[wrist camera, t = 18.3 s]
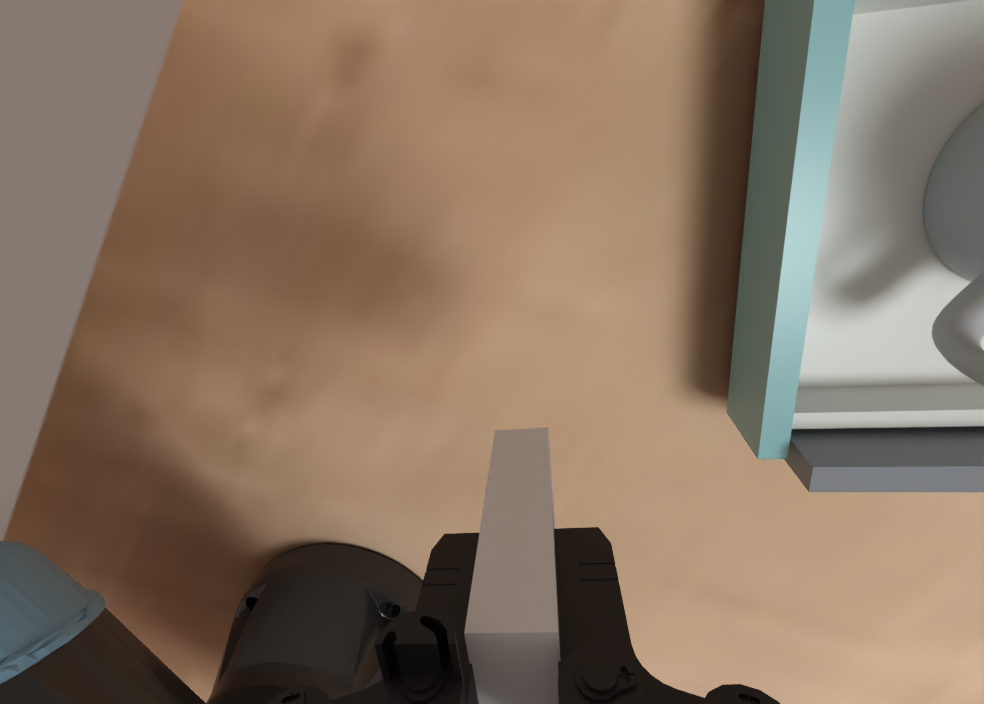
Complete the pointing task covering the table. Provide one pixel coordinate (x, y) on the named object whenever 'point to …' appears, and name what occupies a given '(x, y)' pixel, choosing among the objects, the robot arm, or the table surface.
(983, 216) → the mug
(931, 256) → the tray
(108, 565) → the table surface
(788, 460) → the dock
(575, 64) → the table surface
